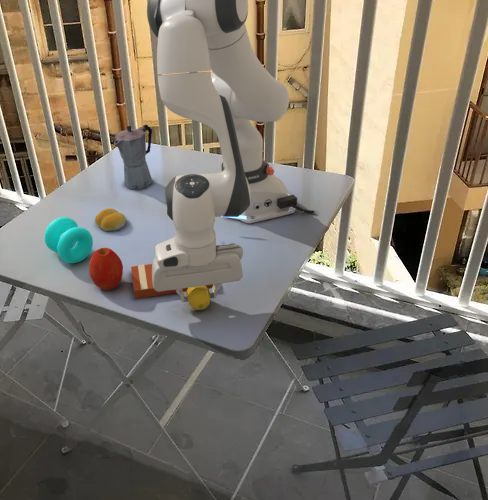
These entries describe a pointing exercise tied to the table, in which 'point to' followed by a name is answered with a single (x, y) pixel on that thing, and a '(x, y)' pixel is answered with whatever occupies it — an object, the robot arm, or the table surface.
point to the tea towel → (148, 282)
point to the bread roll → (110, 220)
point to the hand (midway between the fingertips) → (198, 298)
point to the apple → (106, 269)
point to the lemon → (198, 297)
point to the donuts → (68, 240)
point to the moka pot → (134, 156)
